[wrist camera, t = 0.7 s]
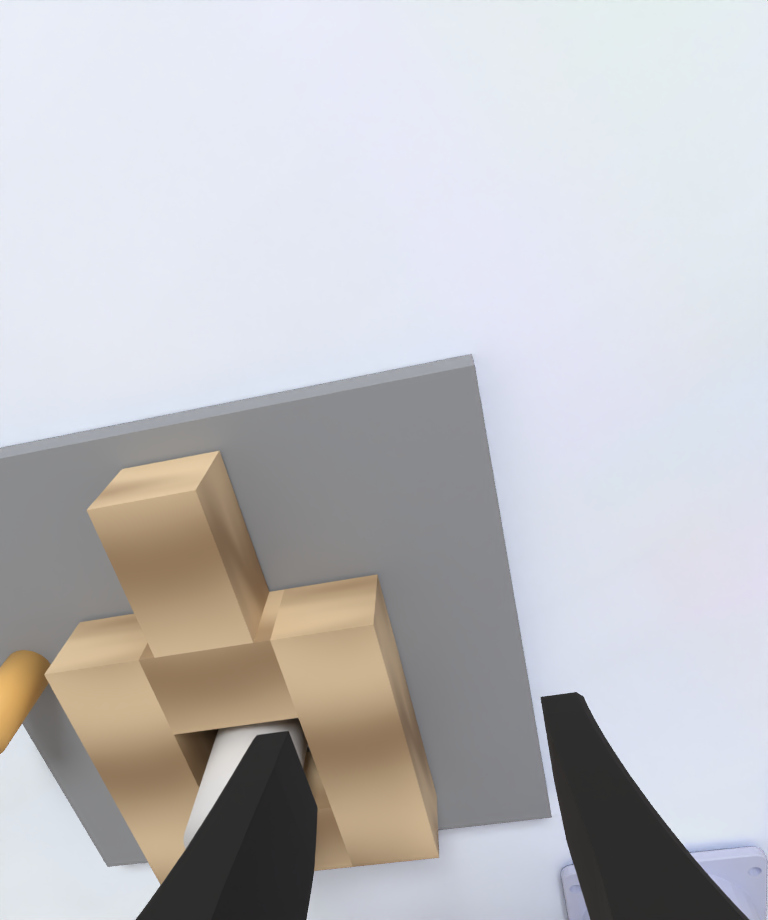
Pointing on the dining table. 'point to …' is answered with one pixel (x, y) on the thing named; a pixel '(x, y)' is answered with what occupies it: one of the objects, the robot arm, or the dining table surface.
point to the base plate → (297, 573)
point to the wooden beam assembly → (238, 674)
